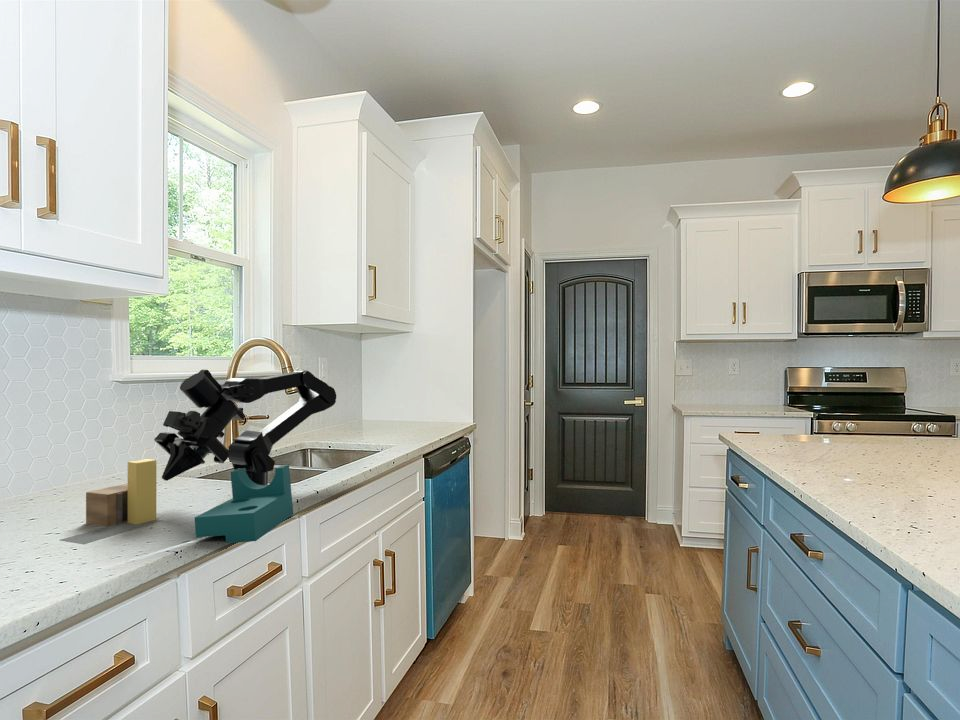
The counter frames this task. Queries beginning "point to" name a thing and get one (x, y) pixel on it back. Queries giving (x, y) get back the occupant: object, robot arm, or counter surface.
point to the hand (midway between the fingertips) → (164, 479)
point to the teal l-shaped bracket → (249, 508)
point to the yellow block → (141, 491)
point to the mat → (106, 532)
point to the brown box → (107, 506)
